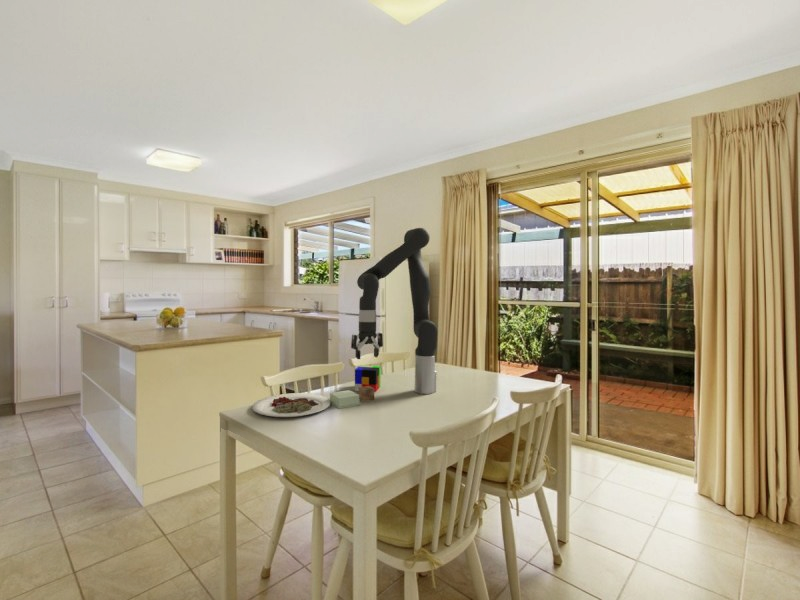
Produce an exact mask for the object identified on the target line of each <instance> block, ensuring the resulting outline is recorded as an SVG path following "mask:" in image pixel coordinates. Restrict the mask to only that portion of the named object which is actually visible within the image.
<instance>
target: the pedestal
mask: <svg viewBox="0 0 800 600" xmlns="http://www.w3.org/2000/svg"><path fill="white" fill-rule="evenodd" d="M329 400H330V405H331V406H333V407H335V408H336V409H338V410H340V409H344V408H345V409H346V408H350V407H358V406H361V405H362V403H361V402H360V399H359V393H356V392H354V391H352V390H348V389H347V390H342V391H334V392H330V393H329Z"/></svg>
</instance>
